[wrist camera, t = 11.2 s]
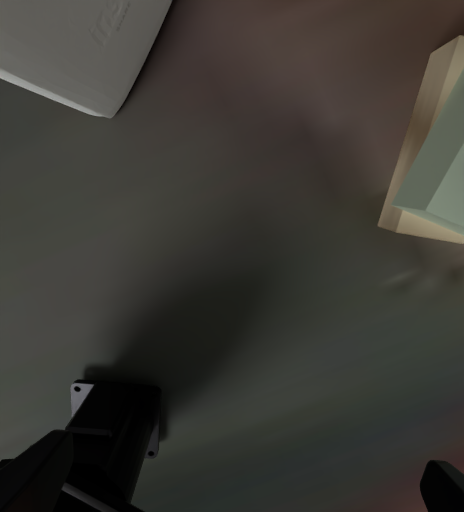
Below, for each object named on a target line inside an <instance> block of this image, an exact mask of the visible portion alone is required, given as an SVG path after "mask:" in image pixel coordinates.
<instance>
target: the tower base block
mask: <svg viewBox="0 0 464 512" xmlns="http://www.w3.org/2000/svg"><path fill="white" fill-rule="evenodd" d="M463 68H464V36H462V35H459V36H458V37H456V38H454V39H453V40H451V41H450V42H448V43H446V44H445V45H443V46H442V47H440V48H438V49H437V50H435V51H434V52H432V53H431V55H430V58H429V61H428V64H427V68H426V71H425V74H424V77H423V81H422V84H421V87H420V90H419V93H418V97H417V100H416V103H415V106H414V110H413V113H412V116H411V119H410V123H409V126H408V129H407V132H406V135H405V139H404V142H403V145H402V148H401V152H400V155H399V158H398V161H397V164H396V168H395V171H394V174H393V177H392V181H391V184H390V187H389V190H388V194H387V197H386V200H385V203H384V206H383V210H382V213H381V216H380V219H379V223H378V227H381V228H384V229H387V230H390V231H394V232H397V233H403V234H409V235H415V236H420V237H426V238H432V239H438V240H443V241H449V242H455V243H461V244H464V236H463V235H461V234H458V233H456V232H454V231H451V230H449V229H447V228H444V227H442V226H440V225H437V224H435V223H432V222H430V221H428V220H425V219H423V218H421V217H418V216H416V215H414V214H411V213H409V212H406V211H404V210H402V209H399V208H397V207H395V206H392V205H391V203H392V202H393V200H394V198H395V196H396V194H397V192H398V190H399V188H400V187H401V185H402V183H403V181H404V179H405V177H406V175H407V173H408V172H409V170H410V168H411V166H412V164H413V162H414V160H415V158H416V157H417V155H418V153H419V151H420V149H421V147H422V145H423V143H424V142H425V140H426V138H427V136H428V134H429V132H430V130H431V128H432V127H433V125H434V123H435V121H436V119H437V117H438V115H439V113H440V112H441V110H442V108H443V106H444V104H445V102H446V100H447V98H448V97H449V95H450V93H451V91H452V89H453V87H454V85H455V83H456V82H457V80H458V78H459V76H460V74H461V72H462V70H463Z"/></svg>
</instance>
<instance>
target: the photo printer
mask: <svg viewBox="0 0 464 512" xmlns="http://www.w3.org/2000/svg"><path fill="white" fill-rule="evenodd" d="M171 2H172V0H0V78H1V79H4V80H6V81H8V82H11V83H13V84H16V85H18V86H21V87H23V88H26V89H28V90H31V91H33V92H36V93H38V94H40V95H43V96H45V97H48V98H50V99H52V100H55V101H57V102H60V103H62V104H65V105H67V106H70V107H72V108H75V109H77V110H80V111H82V112H85V113H87V114H90V115H94V116H104V117H107V118H112V117H113V116H114V115H115V114H116V112H117V111H118V110H119V108H120V107H121V106H122V104H123V102H124V101H125V99H126V97H127V95H128V93H129V92H130V90H131V88H132V86H133V84H134V82H135V80H136V78H137V76H138V74H139V72H140V70H141V68H142V66H143V64H144V62H145V60H146V58H147V55H148V53H149V51H150V49H151V47H152V45H153V43H154V40H155V38H156V36H157V34H158V32H159V30H160V27H161V25H162V23H163V21H164V18H165V16H166V14H167V12H168V9H169V7H170V5H171Z"/></svg>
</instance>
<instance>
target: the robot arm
mask: <svg viewBox="0 0 464 512" xmlns="http://www.w3.org/2000/svg"><path fill="white" fill-rule="evenodd" d="M77 386H79V387H80V388H79V387H77ZM153 393H156V394H153ZM71 406H72V419H71V420H70V422H69V423H68V425H67V426H66V428H65V430H53V431H51V432H50V433H48V434H47V435H46V436H44V437H43V438H41V439H40V440H39V441H37V442H36V443H35V444H33V445H32V446H30V447H29V448H28V449H27V450H25V451H24V452H23V453H21V454H20V455H19V456H17V457H16V458H15V459H4V460H1V461H0V512H144V511H143V510H141V509H139V508H137V507H135V506H134V505H132V504H130V503H131V500H132V496H133V493H134V490H135V487H136V483H137V480H138V477H139V474H140V470H141V467H142V464H143V461H144V458H155V457H156V456H157V454H158V450H159V433H160V413H161V389H160V388H159V387H157V386H150V385H139V384H127V383H116V382H104V381H93V380H81V379H79V380H76V381H75V382H74V383H73V384H72V386H71ZM420 491H421V495H422V497H423V500H424V502H425V505H426V507H427V510H428V512H464V474H463V473H462V472H460V471H459V470H458V469H456V468H455V467H454V466H453V465H451V464H450V463H448V462H446V461H439V460H430V461H429V462H428V463H427V465H426V468H425V471H424V473H423V476H422V479H421V481H420Z"/></svg>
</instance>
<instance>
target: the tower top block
mask: <svg viewBox="0 0 464 512" xmlns="http://www.w3.org/2000/svg"><path fill="white" fill-rule="evenodd" d="M391 205H392V206H395V207H397V208H399V209H402V210H404V211H406V212H409V213H411V214H414V215H416V216H418V217H421V218H423V219H425V220H428V221H430V222H432V223H435V224H437V225H440V226H442V227H444V228H447V229H449V230H451V231H454V232H456V233H458V234H461V235H463V236H464V68H463V70H462V72H461V74H460V76H459V78H458V80H457V82H456V83H455V85H454V87H453V89H452V91H451V93H450V95H449V97H448V98H447V100H446V102H445V104H444V106H443V108H442V110H441V112H440V113H439V115H438V117H437V119H436V121H435V123H434V125H433V127H432V128H431V130H430V132H429V134H428V136H427V138H426V140H425V142H424V143H423V145H422V147H421V149H420V151H419V153H418V155H417V157H416V158H415V160H414V162H413V164H412V166H411V168H410V170H409V172H408V173H407V175H406V177H405V179H404V181H403V183H402V185H401V187H400V188H399V190H398V192H397V194H396V196H395V198H394V200H393V202H392V203H391Z"/></svg>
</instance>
